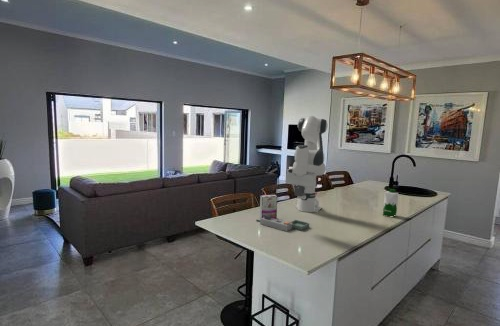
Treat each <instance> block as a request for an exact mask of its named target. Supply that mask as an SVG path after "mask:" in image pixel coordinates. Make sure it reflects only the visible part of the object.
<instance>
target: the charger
mask: <svg viewBox="0 0 500 326" xmlns="http://www.w3.org/2000/svg"><path fill="white" fill-rule="evenodd" d="M303 190H305V186H300V185H296V186H295V192H294V191H293V192H294V193H293V194H294V196H295V197H296V196H297V197H296V198H297V199H298V198H299V199H302V196H304V195H305V193H303Z"/></svg>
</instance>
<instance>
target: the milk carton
mask: <svg viewBox="0 0 500 326" xmlns="http://www.w3.org/2000/svg"><path fill="white" fill-rule="evenodd" d="M383 196H384V200H383V209H382V210H383V211H382V216H384V215H388V216H394V215H396V216H397V211H398V210H397V209H398V201H399V192H396V189H394V188H390V189H389V190H387V191H385V192H384V195H383ZM388 216H387V217H388ZM394 217H395V216H394Z"/></svg>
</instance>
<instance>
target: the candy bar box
mask: <svg viewBox="0 0 500 326" xmlns="http://www.w3.org/2000/svg"><path fill="white" fill-rule="evenodd" d="M259 200H260V201H259V205H260V206H259V220H260V219H261V218H264V216H265V215H270V216H271V218H274V219H278V218H277V217H278V216H277V214H278V211H277V210H278V195H276V194H262V195H260V199H259Z"/></svg>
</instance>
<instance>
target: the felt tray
mask: <svg viewBox="0 0 500 326" xmlns="http://www.w3.org/2000/svg"><path fill="white" fill-rule="evenodd" d="M289 222H290V223H292V229H293V230H297V231H301V232H302V231H304V230H306V229H307V228H310V223H309V222H307V221H302V220H298V219H294V220H292V221H289Z"/></svg>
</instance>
